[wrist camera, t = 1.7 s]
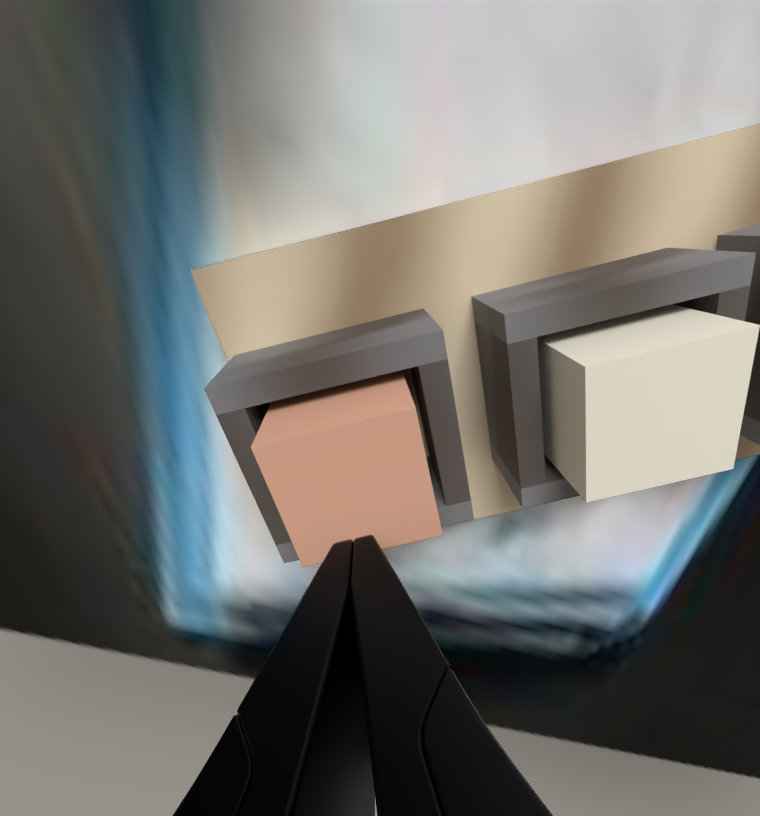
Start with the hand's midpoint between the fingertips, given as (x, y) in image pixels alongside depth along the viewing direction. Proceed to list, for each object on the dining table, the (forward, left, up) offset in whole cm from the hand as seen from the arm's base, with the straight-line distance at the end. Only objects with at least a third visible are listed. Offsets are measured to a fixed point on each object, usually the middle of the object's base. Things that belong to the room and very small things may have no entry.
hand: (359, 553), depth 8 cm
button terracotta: (0, 0, -5) cm, 5 cm away
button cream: (-8, 0, -5) cm, 9 cm away
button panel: (-8, 0, -8) cm, 11 cm away
